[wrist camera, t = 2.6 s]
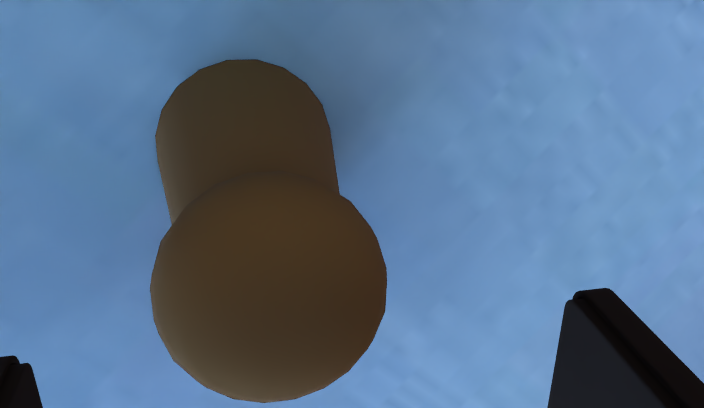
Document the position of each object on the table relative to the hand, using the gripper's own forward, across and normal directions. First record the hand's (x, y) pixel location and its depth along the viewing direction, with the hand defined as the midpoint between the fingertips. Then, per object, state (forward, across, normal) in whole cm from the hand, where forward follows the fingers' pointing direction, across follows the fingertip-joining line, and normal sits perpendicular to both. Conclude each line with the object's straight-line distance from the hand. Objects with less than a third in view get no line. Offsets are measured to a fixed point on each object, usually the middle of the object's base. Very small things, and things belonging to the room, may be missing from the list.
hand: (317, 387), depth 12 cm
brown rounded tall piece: (+13, +1, 0) cm, 13 cm away
